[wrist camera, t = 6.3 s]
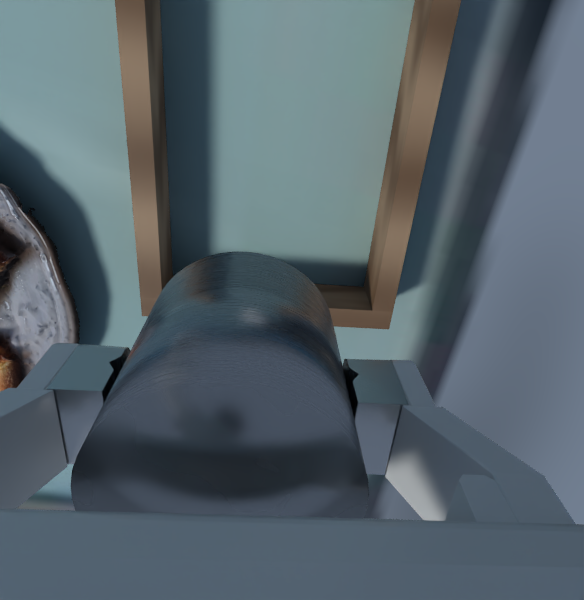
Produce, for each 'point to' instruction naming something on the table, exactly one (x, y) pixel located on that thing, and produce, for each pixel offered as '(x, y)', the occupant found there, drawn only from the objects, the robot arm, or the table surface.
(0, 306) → the food plate
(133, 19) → the wooden u-shaped frame
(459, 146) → the table surface
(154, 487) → the grey rounded piece
